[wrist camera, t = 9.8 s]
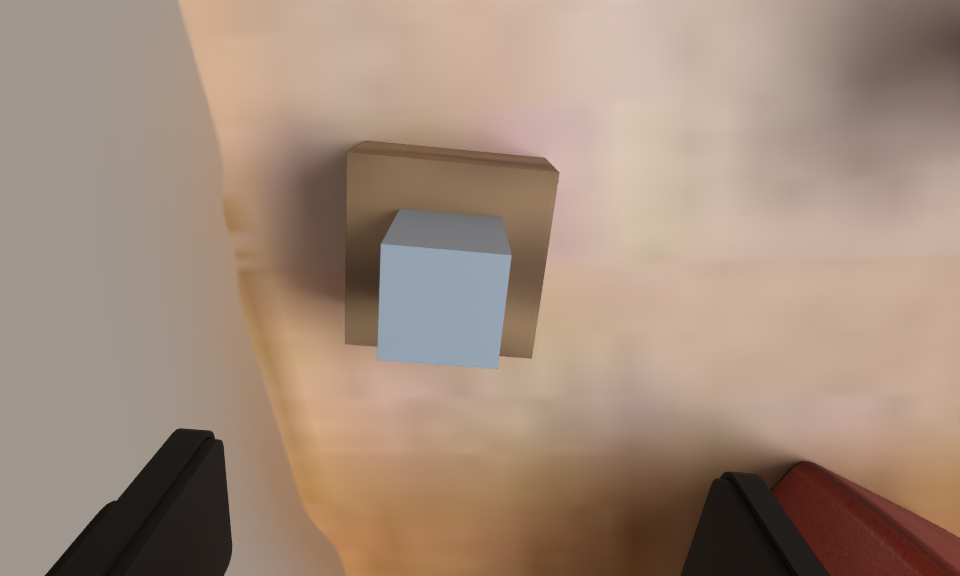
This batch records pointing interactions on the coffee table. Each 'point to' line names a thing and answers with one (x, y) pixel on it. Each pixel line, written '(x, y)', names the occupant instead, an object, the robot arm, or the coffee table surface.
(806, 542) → the robot arm
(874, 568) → the plant pot
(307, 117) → the coffee table surface
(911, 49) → the coffee table surface
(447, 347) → the slate block
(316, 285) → the coffee table surface
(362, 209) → the walnut plinth
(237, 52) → the coffee table surface
